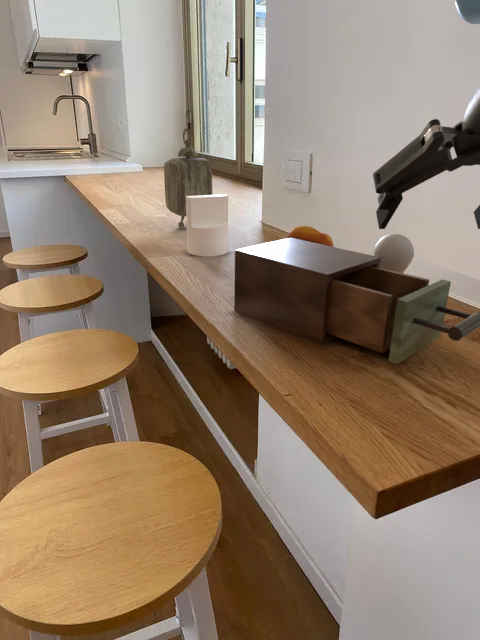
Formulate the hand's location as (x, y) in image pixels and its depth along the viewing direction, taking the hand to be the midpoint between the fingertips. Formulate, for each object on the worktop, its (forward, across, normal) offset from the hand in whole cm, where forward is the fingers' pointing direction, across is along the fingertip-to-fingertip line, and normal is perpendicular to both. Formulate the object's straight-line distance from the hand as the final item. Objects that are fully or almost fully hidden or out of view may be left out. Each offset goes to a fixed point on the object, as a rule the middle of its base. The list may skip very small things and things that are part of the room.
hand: (429, 220), depth 66 cm
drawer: (+6, +7, +15) cm, 17 cm away
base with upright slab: (+42, +29, -20) cm, 55 cm away
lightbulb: (+18, 0, +3) cm, 19 cm away
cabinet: (+14, +15, +8) cm, 22 cm away
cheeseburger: (+30, +11, -8) cm, 32 cm away
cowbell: (+60, +34, -38) cm, 79 cm away
